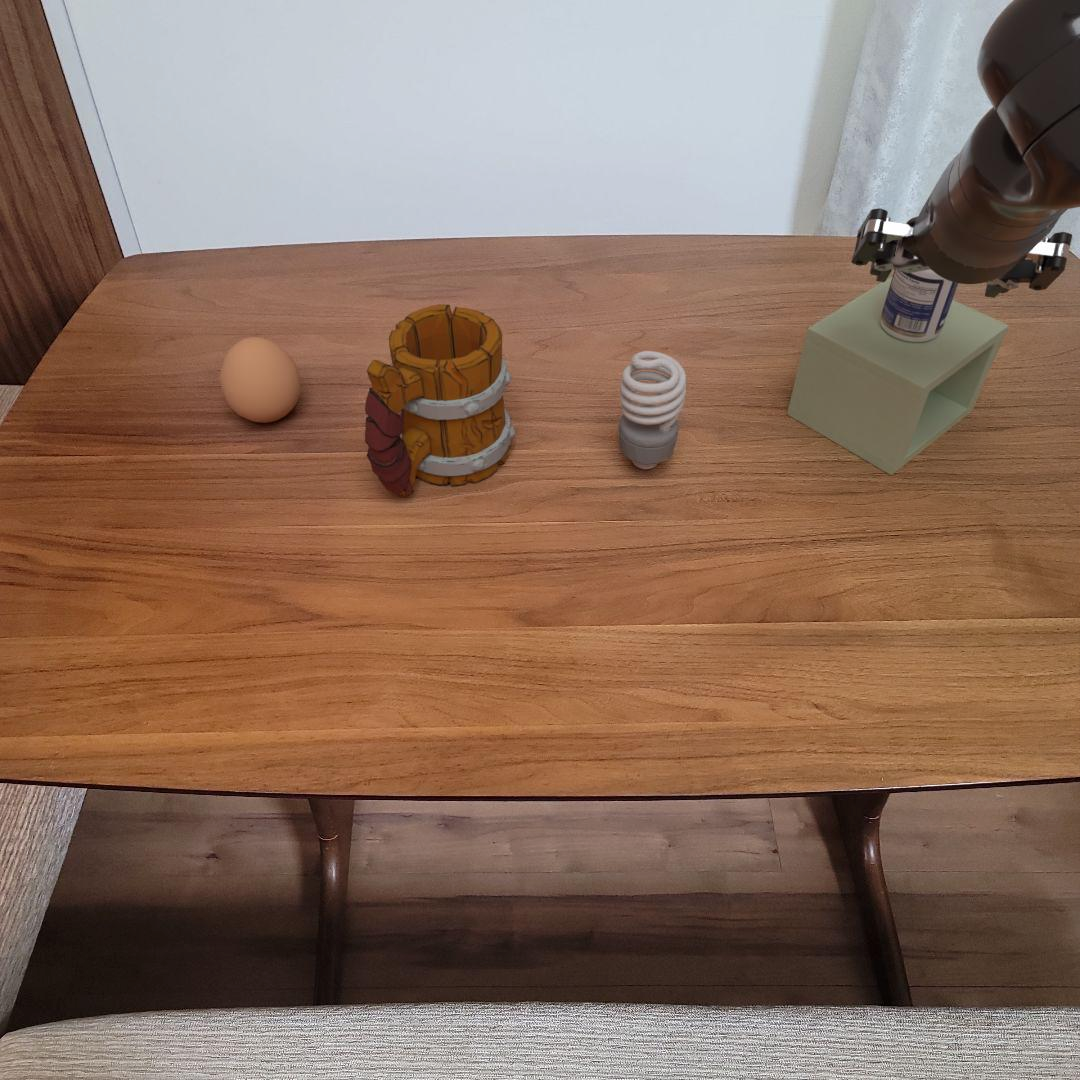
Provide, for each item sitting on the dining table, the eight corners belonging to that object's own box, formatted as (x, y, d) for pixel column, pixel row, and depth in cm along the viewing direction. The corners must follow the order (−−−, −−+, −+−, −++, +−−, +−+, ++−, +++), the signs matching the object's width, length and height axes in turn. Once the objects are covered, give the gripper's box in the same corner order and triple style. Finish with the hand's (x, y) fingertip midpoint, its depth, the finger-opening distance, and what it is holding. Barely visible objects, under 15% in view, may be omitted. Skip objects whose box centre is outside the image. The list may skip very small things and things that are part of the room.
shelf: (972, 411, 91) (1009, 325, 84) (891, 475, 85) (923, 388, 78) (869, 358, 98) (895, 273, 90) (786, 414, 91) (807, 327, 84)
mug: (536, 437, 89) (535, 300, 78) (430, 541, 80) (413, 402, 69) (446, 398, 93) (433, 264, 82) (336, 493, 84) (305, 355, 73)
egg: (295, 441, 89) (277, 368, 82) (221, 436, 89) (197, 363, 83) (316, 394, 94) (300, 321, 87) (245, 390, 94) (224, 317, 88)
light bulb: (602, 470, 86) (609, 363, 77) (635, 439, 89) (645, 332, 80) (654, 496, 83) (666, 388, 75) (686, 462, 86) (702, 355, 78)
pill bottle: (915, 305, 86) (948, 206, 79) (953, 336, 83) (991, 235, 76) (866, 317, 85) (895, 217, 78) (902, 349, 82) (936, 247, 75)
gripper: (1122, 164, 58) (1038, 244, 74) (888, 138, 61) (856, 220, 77) (1095, 282, 59) (1018, 336, 75) (864, 251, 61) (837, 309, 77)
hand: (936, 277), depth 76 cm, fingers open, 8 cm apart
